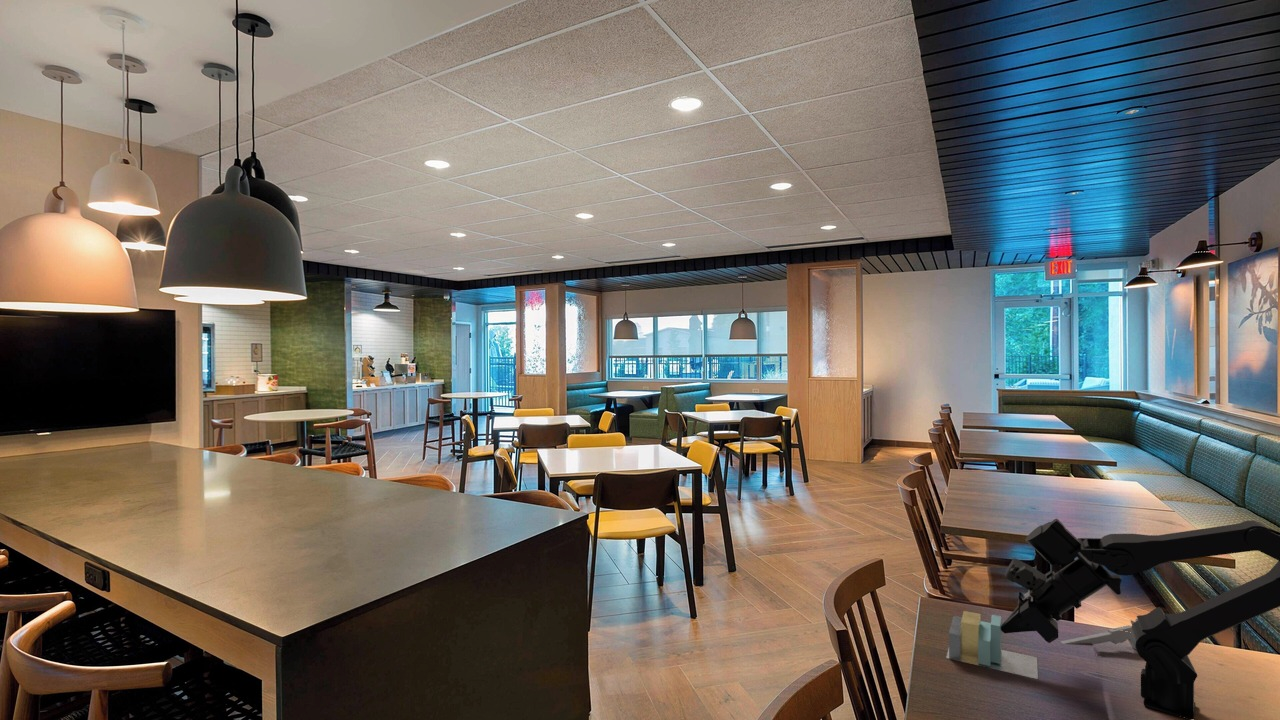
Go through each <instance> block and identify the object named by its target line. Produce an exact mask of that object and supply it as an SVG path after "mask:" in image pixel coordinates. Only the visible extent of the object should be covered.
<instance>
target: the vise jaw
mask: <svg viewBox="0 0 1280 720" xmlns="http://www.w3.org/2000/svg"><path fill="white" fill-rule="evenodd" d="M1001 626H1002V616H1001V615H995V614H991V618H990V622H988V621H983V620H981V625H980V631H979V637H978V664H982V665H986V666H990V665H991V662H994V663H999V664H1001V653H1002V651H1001V650H1002V631H1001Z"/></svg>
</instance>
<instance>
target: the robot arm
mask: <svg viewBox="0 0 1280 720" xmlns="http://www.w3.org/2000/svg"><path fill="white" fill-rule="evenodd" d="M1025 542H1027V543H1028V544H1029V545H1030V546H1031V547H1032V548H1033V549H1034V550H1035V551H1036V552H1037V553H1038V554H1039V555H1040V556H1041V557H1042V558H1043V559H1044V560H1045V561H1046V562H1047V563H1048V564H1050V565H1051V566H1054V565H1055V566H1056V567H1063V568H1061V569H1060V570H1058V571H1057V572H1055V571H1054V570H1053V571H1051V570H1050V571H1048V572H1046V573H1042V572H1041V571H1039V570H1038V569H1037V568H1035V567H1033V566H1031V565H1029V564H1027V563H1025V562H1023V561H1022V560H1020V559H1017V558H1015V557H1013V558H1012V560H1011V562H1010V563H1009V565H1008V567H1007V568H1006V570H1005V575H1004V577H1005V579H1006V580H1008V581H1009V582H1012V583H1016V584H1017V585H1019V586H1021V587H1022V588H1025V589H1026V590H1027V592H1026V593H1024V594H1023V593H1022V592H1020V591H1018V592H1017V593H1018V597H1017V600H1018V601H1017V605H1016V607H1015V609H1014V610H1013V611H1012V612H1011V613H1010V614H1009V616H1008V617H1007V618H1006V619H1005V620H1004V622H1003V623H1001V633H1004V634H1012V633H1013V634H1015V633H1025V632H1037V633H1038V634H1039V635H1040V637H1042V639H1043V640H1045V642H1047V643H1048V644H1051V643H1052V642H1054V641H1055V640H1057V639H1059V625H1058V622H1059V621H1060V620H1062V619H1063V618H1062V615H1063V614H1064V613H1066V612H1068V611H1069V610H1070V609H1073V608H1075V609H1077V610H1078V609H1079V608H1081V607H1082V602H1083V601H1085V600H1086V599H1088V598H1089V597H1091V596H1092V595H1094V594H1096V593H1097V592H1099V591H1100V590H1102V589H1103V588H1105V587H1108V588H1110V589H1111V591H1113V592H1114V594H1116V595H1117V596H1119V595H1121V594H1122V592H1121V583H1122V581H1123V580H1122V578H1121V576H1132V575H1135V574H1138V573H1143V572H1147V571H1149V570H1152V569H1153V568H1156V567H1158V566H1160V565H1163V564H1167V563H1170V562H1174V561H1175V562H1176V561H1183V560H1192V559H1199V558H1207V557H1215V556H1222V555H1223V556H1224V555H1230V554H1237V553H1238V554H1239V553H1246V552H1254V551H1255V552H1260V553H1262V554H1265V556H1269V557H1271V558H1272V559H1274V560H1276V561H1277V562H1276V563H1275V564H1274V565H1273V567H1272V568H1271V569H1270V570H1269V571H1268V572H1267V573H1265V574H1262V575H1261V576H1260V575H1259V576H1258V577H1256V578H1254V579H1252V580H1249V581H1247V582H1244V583H1243V584H1241V585H1239V586H1237V587H1234V588H1232V589H1229V590H1227V591H1225V592H1223V593H1220V594H1219V595H1216V596H1214V597H1212V598H1210V599H1207V600H1206V601H1203V602H1201V603H1198V604H1197V605H1195V606H1192V607H1190V608H1188V609H1186V610H1183V611H1181V612H1176V613H1164V611H1163V609H1162V608H1161V607H1160V606H1158V607H1156V608H1153V610H1151V611H1150V612H1148V613H1146V614H1142V615H1136V619H1138V621H1136V622H1135V621H1134V622H1135V623H1133V625H1132V624H1131V627H1132V628H1131V635H1132V639H1133V642H1134V644H1135V647H1136V649H1135V650H1136V652H1137V654H1138V655H1139V657H1140V658H1141V659H1142V660H1143V661H1144V662H1145V666H1144V668H1142V669H1141V672H1140V697H1141V698H1142V699H1143V706H1144V707H1146V708H1149V709H1153V710H1156V711H1158V712H1159V711H1160V712H1162V713H1166V714H1169V715H1173V716H1175V715H1176V717H1179V716H1181V717H1180V718H1182V717H1185V718H1188V719H1187V720H1189V719H1195V718H1196V717H1195V716H1196V702H1195V681H1196V679H1197V678H1198V674H1197V671H1196V669H1195V667H1194V666H1193V664H1192V663H1193V662H1192V661H1191V660H1190V657H1189V655H1190V654H1191V653H1192V652H1193V651H1194V650H1195V648H1196V647H1197V646H1198V645H1199V644H1200V643H1201V641H1202V642H1203V640H1205V639H1208V638H1211V637H1213V636H1214V635H1217V634H1219V633H1221V632H1223V631H1226V630H1228V629H1231V628H1233V627H1235V626H1237V625H1240V624H1243V623H1244V622H1247V621H1249V620H1251V619H1254V618H1256V617H1257V618H1258V616H1261V615H1264V614H1265V613H1268V612H1271V611H1273V610H1275V609H1277V608H1280V531H1278V530H1276V529H1273V528H1271V527H1268V526H1266V525H1265V524H1263V523H1262V522H1260V521H1256V520H1245V521H1242V522H1240V523H1234V524H1226V525H1220V526H1214V527H1207V528H1200V529H1199V528H1198V529H1193V530H1185V531H1177V532H1172V533H1164V534H1158V535H1157V534H1156V535H1155V534H1153V535H1149V534H1140V533H1139V534H1137V533H1109V534H1107V535H1104V536H1102V537H1101V538H1100V537H1099V538H1098V537H1097V538H1095V537H1089V538H1087V537H1078V538H1077V537H1076V536H1075V535H1074V534H1073V533H1072V532H1071V531H1070V530H1068V528H1066V526H1065V525H1064V523H1062V522H1061V521H1060V520H1059V519H1058V518H1055V519H1053V520H1051V521H1048V522H1046V523H1044V524H1043V525H1038V526H1037V527H1036V528H1035V529H1033V530H1032V531H1031V532H1030V533H1029V534H1028V535H1027V536H1026V538H1025ZM1109 571H1110V572H1109ZM1112 573H1113V574H1112ZM1185 718H1184V719H1185ZM1195 720H1196V719H1195Z"/></svg>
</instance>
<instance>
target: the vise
mask: <svg viewBox="0 0 1280 720" xmlns="http://www.w3.org/2000/svg"><path fill="white" fill-rule="evenodd" d="M961 620H962V616H958V615H953V617H952V621H951V623H950V627H949V631H948V649H947V652H946V656H945V658H946V659H949V660H954V661H959V662H962V663H965V664H966V663H967V664H970V665H975V666H980V667H984V668H988V669H993V670H997V671H1001V672H1005V673H1010V674H1013V675H1018V676H1023V677H1026V678H1031V679H1036V680H1038V679H1039V675H1038V657H1036V656H1033V655H1027V654H1023V653H1018V652H1014V651H1009V650H1005V649H1001V651H1002V653H1001V664H999V663H994V662H991V665H990V666H986V665H982V664H978V661H974V660H969V659H965V658H961Z"/></svg>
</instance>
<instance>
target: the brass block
mask: <svg viewBox="0 0 1280 720" xmlns="http://www.w3.org/2000/svg"><path fill="white" fill-rule="evenodd" d="M981 615H982V614H981V613H977V612H971V611H966V610H963V612H962V616H961V617H962V620H961V658H965V659H969V660H974V661H978V637H979V631H980V625H981V621H982V619H981Z"/></svg>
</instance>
